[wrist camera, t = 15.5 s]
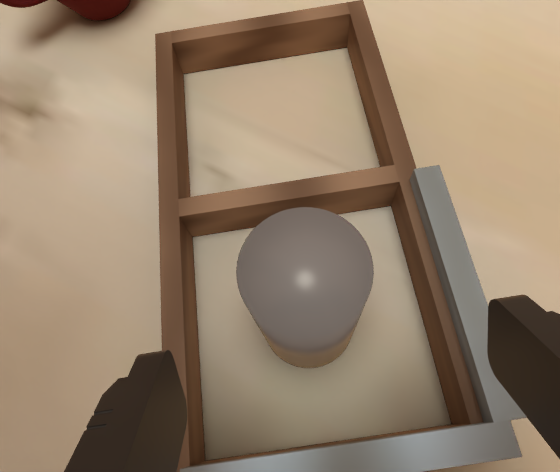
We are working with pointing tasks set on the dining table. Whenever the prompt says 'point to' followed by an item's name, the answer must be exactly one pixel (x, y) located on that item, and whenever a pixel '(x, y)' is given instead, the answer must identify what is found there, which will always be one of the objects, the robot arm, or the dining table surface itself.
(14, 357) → the dining table surface
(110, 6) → the mug
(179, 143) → the divider rack
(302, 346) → the grey dome-topped cylinder
